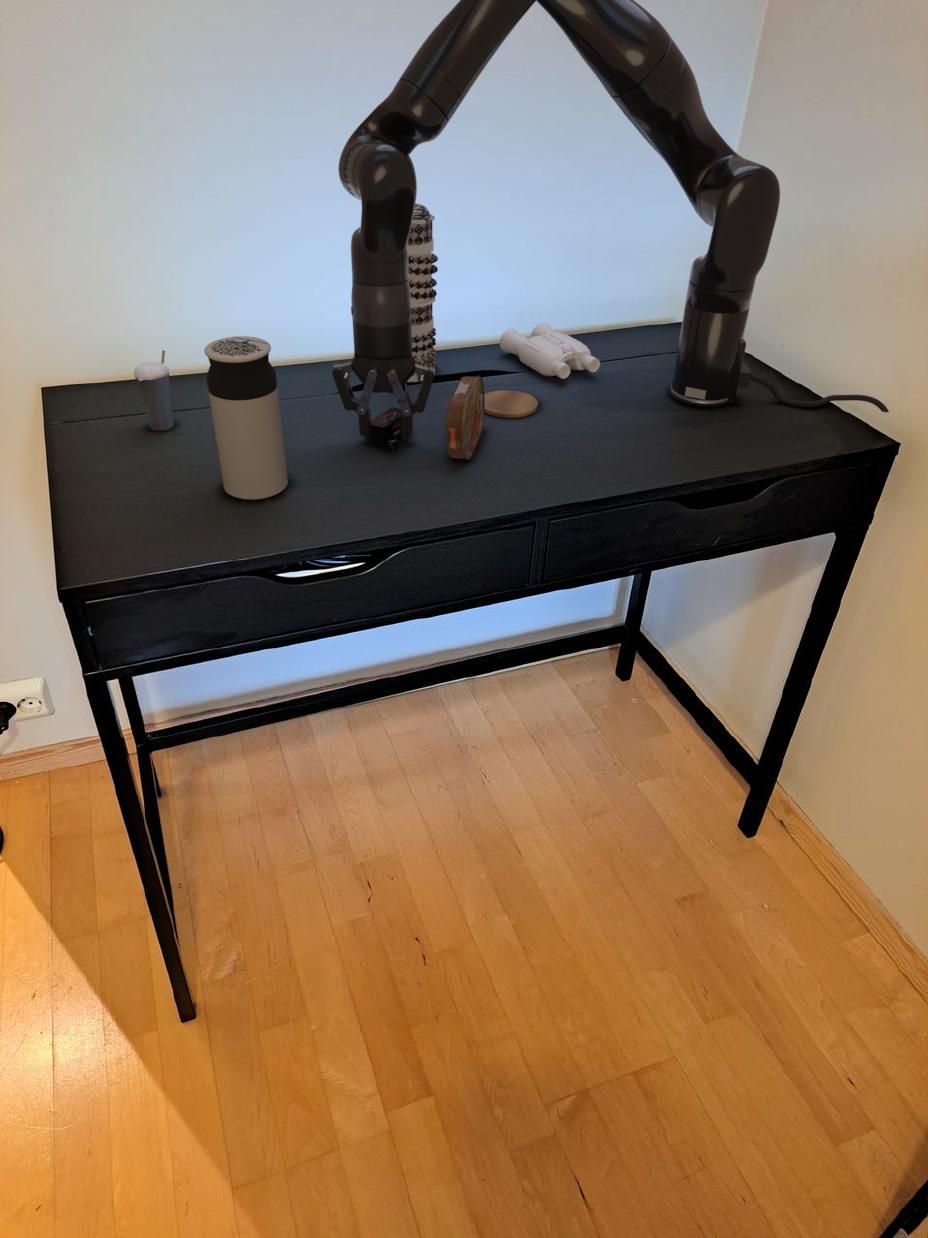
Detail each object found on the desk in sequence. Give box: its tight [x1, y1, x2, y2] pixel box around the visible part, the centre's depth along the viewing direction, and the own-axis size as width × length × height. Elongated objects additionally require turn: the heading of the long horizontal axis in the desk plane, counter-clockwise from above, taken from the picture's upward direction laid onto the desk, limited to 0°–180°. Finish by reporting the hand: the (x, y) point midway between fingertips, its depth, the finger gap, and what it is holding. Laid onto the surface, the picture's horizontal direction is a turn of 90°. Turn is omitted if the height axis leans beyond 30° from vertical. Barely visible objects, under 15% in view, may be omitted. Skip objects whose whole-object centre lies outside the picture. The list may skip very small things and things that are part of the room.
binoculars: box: [499, 322, 601, 380], centre depth 148 cm, size 10×16×5 cm, turn 30°
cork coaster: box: [484, 389, 539, 419], centre depth 136 cm, size 9×9×1 cm
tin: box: [445, 375, 485, 461], centre depth 122 cm, size 15×3×8 cm, turn 168°
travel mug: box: [203, 335, 289, 500], centre depth 108 cm, size 8×8×18 cm
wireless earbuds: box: [368, 407, 402, 452], centre depth 124 cm, size 5×7×3 cm, turn 151°
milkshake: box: [133, 350, 175, 432], centre depth 125 cm, size 4×5×10 cm
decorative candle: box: [406, 202, 439, 383], centre depth 138 cm, size 9×9×25 cm
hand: (386, 437), depth 124 cm, fingers closed on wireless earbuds, 4 cm apart
